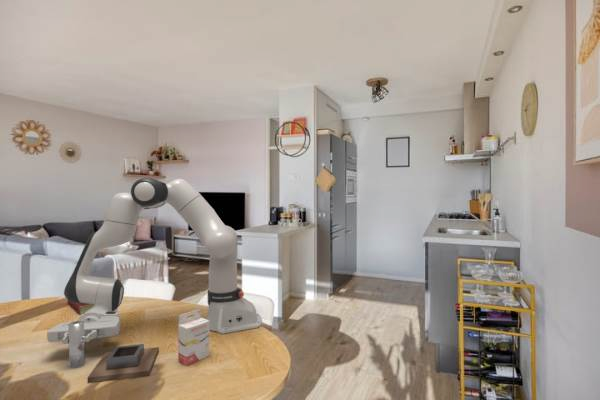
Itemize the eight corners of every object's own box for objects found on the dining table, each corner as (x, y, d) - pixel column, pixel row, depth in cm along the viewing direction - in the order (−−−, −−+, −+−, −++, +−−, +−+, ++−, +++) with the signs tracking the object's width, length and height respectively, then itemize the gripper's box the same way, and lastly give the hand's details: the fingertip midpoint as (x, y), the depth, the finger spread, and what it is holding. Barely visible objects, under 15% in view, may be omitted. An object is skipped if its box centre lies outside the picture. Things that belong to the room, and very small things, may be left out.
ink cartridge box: (186, 366, 103) (186, 319, 102) (177, 361, 106) (177, 315, 105) (210, 355, 109) (209, 311, 109) (201, 351, 112) (200, 307, 112)
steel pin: (86, 361, 106) (86, 320, 106) (81, 367, 102) (80, 325, 102) (72, 362, 105) (71, 321, 105) (66, 369, 101) (65, 326, 101)
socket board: (158, 351, 112) (158, 347, 112) (148, 375, 98) (148, 370, 98) (106, 356, 109) (105, 352, 109) (87, 382, 94) (87, 377, 94)
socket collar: (144, 353, 108) (144, 343, 108) (137, 366, 100) (137, 356, 100) (115, 356, 106) (115, 346, 106) (106, 369, 98) (106, 359, 98)
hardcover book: (79, 316, 145) (79, 306, 145) (67, 304, 160) (67, 295, 160) (109, 309, 154) (109, 299, 154) (96, 298, 169) (96, 290, 168)
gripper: (58, 316, 114) (36, 333, 100) (124, 311, 118) (111, 327, 105) (58, 335, 114) (36, 354, 100) (124, 329, 118) (111, 347, 105)
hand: (75, 340), depth 103 cm, fingers closed on steel pin, 4 cm apart
